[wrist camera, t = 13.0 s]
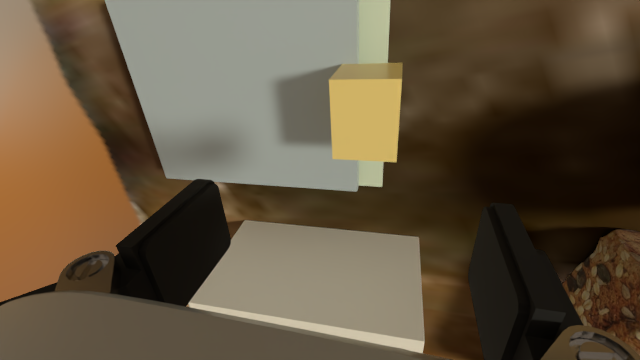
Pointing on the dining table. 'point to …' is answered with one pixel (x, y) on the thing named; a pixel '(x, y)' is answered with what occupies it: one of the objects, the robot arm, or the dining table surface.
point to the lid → (259, 90)
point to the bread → (610, 287)
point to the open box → (321, 282)
